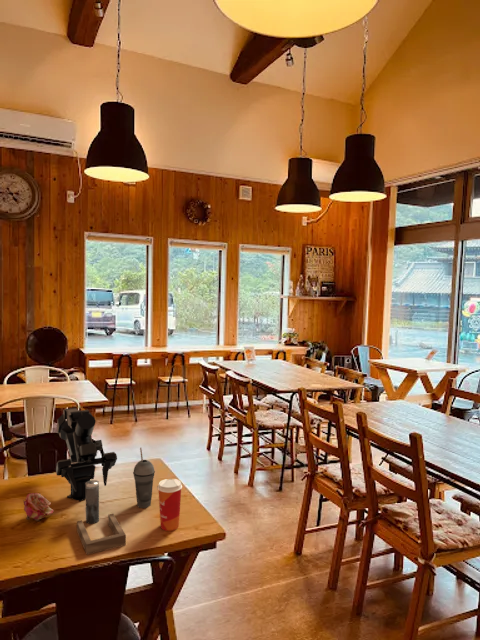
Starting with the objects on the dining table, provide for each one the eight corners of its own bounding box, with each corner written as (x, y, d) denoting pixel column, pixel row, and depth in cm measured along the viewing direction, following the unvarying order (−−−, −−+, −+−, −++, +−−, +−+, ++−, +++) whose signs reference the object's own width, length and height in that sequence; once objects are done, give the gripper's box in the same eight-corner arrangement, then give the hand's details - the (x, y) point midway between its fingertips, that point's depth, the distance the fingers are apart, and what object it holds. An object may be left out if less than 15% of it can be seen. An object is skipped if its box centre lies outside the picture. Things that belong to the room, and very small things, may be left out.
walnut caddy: (76, 530, 145) (76, 521, 145) (113, 522, 151) (113, 513, 151) (86, 554, 133) (86, 544, 133) (125, 544, 138) (125, 534, 138)
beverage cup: (150, 511, 159) (150, 452, 157) (129, 508, 160) (129, 450, 159) (158, 501, 166) (158, 445, 164) (138, 499, 167) (138, 443, 166)
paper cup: (158, 520, 152) (158, 478, 151) (182, 520, 153) (182, 477, 152) (156, 533, 145) (156, 488, 144) (181, 532, 145) (181, 488, 144)
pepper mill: (83, 522, 151) (82, 483, 150) (92, 516, 154) (91, 479, 153) (92, 525, 149) (92, 486, 148) (101, 519, 153) (101, 481, 152)
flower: (15, 523, 146) (31, 502, 146) (14, 505, 154) (29, 485, 154) (43, 533, 151) (59, 512, 151) (40, 514, 159) (55, 495, 159)
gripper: (56, 436, 151) (62, 483, 143) (115, 428, 160) (124, 472, 152) (53, 452, 159) (59, 498, 150) (109, 444, 168) (118, 486, 159)
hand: (90, 488), depth 153 cm, fingers open, 9 cm apart
